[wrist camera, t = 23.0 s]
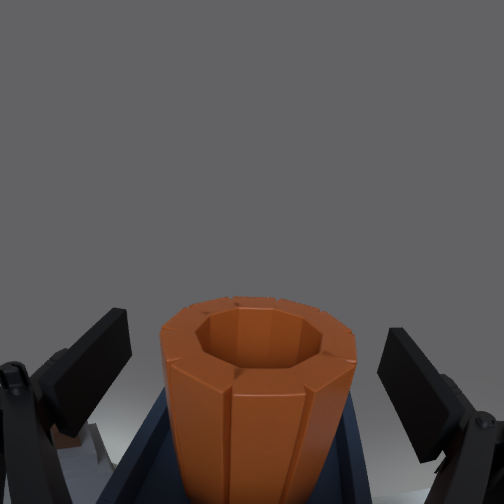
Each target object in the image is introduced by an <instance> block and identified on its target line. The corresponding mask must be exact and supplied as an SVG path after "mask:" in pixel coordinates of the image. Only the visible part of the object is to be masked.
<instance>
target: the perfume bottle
mask: <svg viewBox="0 0 504 504" xmlns="http://www.w3.org/2000/svg"><path fill="white" fill-rule="evenodd" d="M50 429H51V431H52V433H53V436H54V441H55V445H56V449H57V453H58V457H59V461H60V464H61V468H62V472H63V475H64V478H65V482H66V485H67V488H68V491H69V494H70V497H71V500H72V502H73V504H95V503H96V501H97V500H98V498H99V496H100V494H101V493H102V491H103V489H104V488H105V486H106V484H107V482H108V481H109V479H110V477H111V476H112V474H113V472H114V471H115V469H114V467H113V465H112V463H111V460H110V458H109V456H108V453H107V451H106V449H105V446H104V444H103V441H102V439H101V436H100V433H99V431H98V428H97V425H96V423H95V424H89V425H88V422H87V421H86V422H85V424H84V425H83V427H82V428H81V430H80V431H79V433H78V434H77V436H76V437H75V439H74V438H71V437H69V436H66V435H64V434H61V433H59V431H58V429H57V427H56V424H55V423H54V425H53V426H52V427H51V428H50Z"/></svg>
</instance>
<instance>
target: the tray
mask: <svg viewBox="0 0 504 504" xmlns="http://www.w3.org/2000/svg"><path fill="white" fill-rule="evenodd" d="M95 504H192V503H191V502H190V498H187V497H186V494H185V491H184V487H183V484H182V481H181V477H180V474H179V470H178V465H177V460H176V455H175V449H174V444H173V438H172V432H171V426H170V420H169V413H168V406H167V399H166V391H165V387H164V388H163V390H162V392H161V393H160V395H159V397H158V398H157V400H156V402H155V404H154V405H153V407H152V409H151V410H150V412H149V413H148V415H147V417H146V419H145V420H144V422H143V424H142V425H141V427H140V429H139V430H138V432H137V434H136V435H135V437H134V439H133V440H132V442H131V444H130V446H129V447H128V449H127V451H126V452H125V454H124V456H123V457H122V459H121V461H120V462H119V464H118V466H117V467H116V469H115V471H114V472H113V474H112V476H111V477H110V479H109V481H108V482H107V484H106V486H105V488H104V489H103V491H102V493H101V494H100V496H99V498H98V500H97V501H96V503H95ZM305 504H372V499H371V494H370V487H369V481H368V476H367V471H366V465H365V460H364V454H363V450H362V444H361V440H360V434H359V430H358V425H357V420H356V416H355V411H354V407H353V402H352V398H351V394H350V391H349V393H348V396H347V400H346V403H345V406H344V409H343V412H342V415H341V418H340V421H339V424H338V427H337V430H336V433H335V436H334V439H333V442H332V444H331V447H330V450H329V452H328V455H327V458H326V460H325V463H324V465H323V468H322V470H321V473H320V475H319V478H318V480H317V482H316V485H315V487H314V490H313V492H312V494H311V496H310V497H309V499H308V501H307V502H306V503H305Z"/></svg>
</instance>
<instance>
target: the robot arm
mask: <svg viewBox="0 0 504 504" xmlns="http://www.w3.org/2000/svg"><path fill="white" fill-rule="evenodd" d="M131 356H132V351H131V344H130V337H129V329H128V321H127V311H126V309H119V308H112V309H111V310H110V311H109V312H108V313H107V314H106V315H105V316H104V317H102V318H101V319H100V320H99V321H98V322H97V323H96V324H95V325H94V326H93V327H92V328H90V329H89V330H88V331H87V332H86V333H85V334H84V335H83V336H82V337H81V338H80V339H79V340H78V341H77V342H76V343H75V344H74V345H72V346H71V347H70V348H69V349H66V348H64V349H62V350H60V351H58V352H56V353H55V354H54V355H53V356H52V357H51V358H50V359H49V360H47V361H46V362H45V363H44V365H42V366H41V367H40V368H39V369H38V370H37V371H36V372H35V373H34V374H33V375H32V376H31V377H30V378H29V377H28V373H27V371H26V368H25V365H24V364H22V363H20V362H17V361H15V362H7V363H5V364H3V365H1V366H0V384H1V386H2V387H1V386H0V504H3V498H4V487H5V479H6V472H7V479H8V486H9V492H10V498H11V503H12V504H73V502H72V500H71V497H70V494H69V491H68V488H67V485H66V482H65V478H64V475H63V472H62V468H61V464H60V461H59V457H58V453H57V449H56V445H55V441H54V436H53V433H52V431H51V429H50V428H51V427H52V426H53V425H54V423H55V424H56V427H57V429H58V431H59V433H61V434H64V435H66V436H69V437H71V438H74V439H75V437H76V436H77V434H78V433H79V431H80V430H81V428H82V427H83V425H84V424H85V422H86V421H87V419H88V418H89V417H90V415H91V413H92V412H93V411H94V409H95V408H96V406H97V405H98V403H99V402H100V400H101V399H102V397H103V396H104V395H105V393H106V392H107V390H108V389H109V387H110V386H111V385H112V383H113V382H114V380H115V379H116V377H117V376H118V374H119V373H120V372H121V370H122V369H123V367H124V366H125V365H126V363H127V362H128V360H129V359H130V357H131ZM377 374H378V376H379V377H380V380H381V381H382V384H383V386H384V388H385V390H386V392H387V394H388V396H389V397H390V400H391V402H392V404H393V406H394V408H395V410H396V412H397V414H398V416H399V418H400V420H401V422H402V425H403V427H404V429H405V431H406V433H407V435H408V437H409V440H410V442H411V444H412V446H413V448H414V451H415V453H416V455H417V457H418V459H419V462H420V463H425V462H429V461H433V460H436V459H437V458H438V456H439V455H440V453H441V451H442V450H443V451H444V453H445V455H446V457H445V458H444V460H443V461H442V462H441V464H440V465H439V467H438V468H437V470H436V471H435V472H434V473H437V472H438V473H437V476H436V478H435V480H434V483H433V485H432V487H431V490H430V492H429V494H428V496H427V498H426V500H425V502H424V504H504V421H496V419H495V418H494V417H493V416H492V415H491V414H489V413H487V412H483V411H476V410H475V408H474V407H473V406H472V404H471V403H470V402H469V400H468V399H467V398H466V396H465V395H464V394H462V391H461V390H460V389H459V388H458V386H457V385H456V384H455V382H454V381H453V380H452V379H451V378H449V377H448V376H446V375H445V374H439V373H438V372H437V370H436V369H435V367H434V366H433V365H432V364H431V363H430V361H429V360H428V359H427V357H426V356H425V355H424V353H423V352H422V351H421V350H420V348H419V347H418V346H417V345H416V343H415V342H414V341H413V340H412V339H411V337H410V336H409V335H408V334H407V332H406V331H405V330H404V329H403V328H389V332H388V336H387V340H386V343H385V347H384V351H383V354H382V357H381V361H380V364H379V368H378V371H377Z"/></svg>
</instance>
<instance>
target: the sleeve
mask: <svg viewBox="0 0 504 504" xmlns="http://www.w3.org/2000/svg"><path fill="white" fill-rule="evenodd" d="M159 334H160V346H161V356H162V366H163V375H164V383H165V391H166V399H167V406H168V413H169V420H170V426H171V432H172V438H173V444H174V449H175V455H176V460H177V465H178V470H179V474H180V477H181V481H182V484H183V487H184V491H185V494H186V497H187V498H190V502H191V503H192V504H305V503H306V502H307V501H308V499H309V497H310V496H311V494H312V492H313V490H314V487H315V485H316V482H317V480H318V478H319V475H320V473H321V470H322V468H323V465H324V463H325V460H326V458H327V455H328V452H329V450H330V447H331V444H332V442H333V439H334V436H335V433H336V430H337V427H338V424H339V421H340V418H341V415H342V412H343V409H344V406H345V403H346V400H347V396H348V393H349V390H350V386H351V383H352V379H353V376H354V371H355V368H356V364H357V354H356V343H355V335H354V334H352V330H351V329H349V328H348V327H347V326H345V325H344V324H342V323H341V322H339V321H338V320H337V319H335V318H334V317H333V316H331V315H330V314H328V313H327V312H326V311H322V312H320V309H318V308H315V307H311V306H307V305H303V304H300V303H296V302H293V301H289V300H285V299H279V300H278V301H276V299H275V298H267V297H237V296H236V297H235V296H234V297H233V299H230V298H228V297H224V298H219V299H215V300H210V301H206V302H202V303H197V304H192V305H190V306H189V308H186V307H185V308H183V309H182V310H181V311H180V312H178V313H177V314H176V315H175V316H173V317H172V318H171V319H170V320H169V321H167V322H166V323H165V324H164V325H163V326H162V330H161V331H160V333H159Z"/></svg>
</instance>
